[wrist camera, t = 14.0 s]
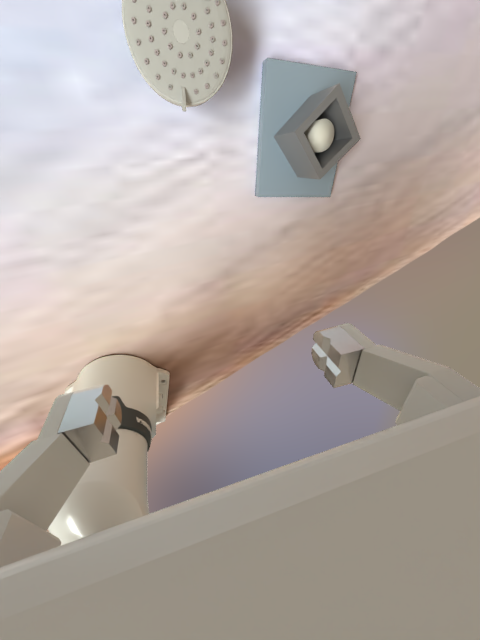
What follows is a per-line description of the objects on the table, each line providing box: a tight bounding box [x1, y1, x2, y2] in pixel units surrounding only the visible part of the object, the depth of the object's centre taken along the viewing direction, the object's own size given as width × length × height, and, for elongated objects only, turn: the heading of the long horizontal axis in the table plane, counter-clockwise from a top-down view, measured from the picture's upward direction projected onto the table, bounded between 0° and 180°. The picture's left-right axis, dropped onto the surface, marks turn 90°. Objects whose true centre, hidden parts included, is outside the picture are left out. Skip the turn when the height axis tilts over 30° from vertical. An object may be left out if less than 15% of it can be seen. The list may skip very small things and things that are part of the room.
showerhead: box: [122, 0, 232, 111], centre depth 23 cm, size 9×7×10 cm
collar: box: [273, 83, 360, 180], centre depth 30 cm, size 6×6×6 cm
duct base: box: [255, 58, 357, 197], centre depth 31 cm, size 14×12×6 cm
